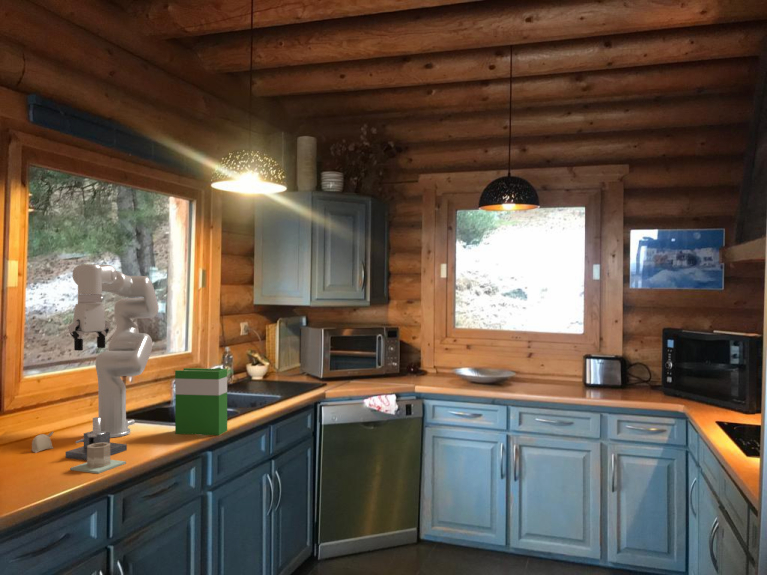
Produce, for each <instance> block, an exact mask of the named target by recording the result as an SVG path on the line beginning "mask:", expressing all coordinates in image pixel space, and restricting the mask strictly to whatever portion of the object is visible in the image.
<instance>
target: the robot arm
mask: <svg viewBox="0 0 767 575" xmlns="http://www.w3.org/2000/svg"><path fill="white" fill-rule="evenodd" d="M72 279H73V281H74V283H75V284H76V285H77V303H76V304H75V306H74V311H73V320H72V323H71V324H69V325H68V326H67V329H68V331H69V334H70V335H71V338H72V339H74V340H73V342H74V343H73V344H74V346H73V347H74V348H73V350H74V351H78V352H79V351H80V352H81V351H83V350H84V339H83V338H82V337H83V336H84V334H87V333H96V335H97V336H96V347H97V349H104V348H106V337H107V336H108V333H109V331H110V327H111V323H110V322H108V321H106V314H105V307H104V303H103V300H104V296H103V292H106V293H112V294H113V295H116V296H119V297H122V298H120V299H119V300H117V301H116V302H115V304H114V308H113V310H114V319H115V324H116V328H115V331H114V333H113V335H112V337H111V339H110V341H109V343H108V347H107V349H108V350H106V351H102V352H100V353H99V354H98V355H97V356H96V358H95V370H96V376H97V387H98V388H97V389H98V390H97V391H98V394H97V396H98V405H97V406H98V413H97V414H98V417H101V431H105V432H110V439H111V438H119V437H124V436H127V435H129V434H130V433H131V428H129V427H130V426H133V425H135V423H136V421H135V419H129V420H128V419H127V409H126V408H127V406H126V405H127V388H126V384H125V382H124V381H123V379H122V378H121V377H131V376H132V377H135V376H140V375H142V373H143V372H144V371H145V368H146V366H147V363H148V362H149V359H150V356H151V354H152V350H153V340H152V337H151V336H150V335H149V334H148V333H145V332H140V331H139V330H140V329H139V327H138V325H136V324H135V322H134V321H133V320H131V319H153V318H155V317H156V316H157V315H158V313H159V303H158V299H157V295H156V291H155V288H154V285H153V282H152V280H151V279H150V278H149V277H148V276H146V275H127V274H124V273H123V272H121V271H118V270H116V268H115V267H114V266H113V265H110V264H95V263H94V264H93V263H91V264H90V263H83V264H79V265H78V264H77V266H75V267H74V268H73V270H72ZM123 297H124V298H123Z"/></svg>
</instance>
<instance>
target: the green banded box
mask: <svg viewBox="0 0 767 575" xmlns="http://www.w3.org/2000/svg"><path fill="white" fill-rule="evenodd" d="M174 379H175V380H174V389H175V390H174V392H175V393H174V396H175V398H174V399H175V400H174V402H175V403H174V404H175V405H174V406H175V408H174V410H175V411H174V413H175V414H174V418H175V419H174V420H175V421H174V422H175V424H174V426H175V431H174V432H175V434H176V435H195V434H202V435H203V436H221V435H222V434H224V433H226V432H227V431H228V368H205V367H204V368H195V367H194V368H193V367H192V368H191V367H188V368H187V367H186V368H185V367H184V368H183V370H181V369H179V370H174Z"/></svg>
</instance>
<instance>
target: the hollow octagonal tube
mask: <svg viewBox="0 0 767 575" xmlns="http://www.w3.org/2000/svg"><path fill="white" fill-rule="evenodd" d="M110 443H111V442H110ZM110 443H105V442H102V443H94V444H90V445H87V460H86V462H87V467H91V468H97V467H104V466H107V465H110V460H111V456H110Z"/></svg>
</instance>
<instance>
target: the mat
mask: <svg viewBox="0 0 767 575" xmlns="http://www.w3.org/2000/svg"><path fill="white" fill-rule="evenodd" d="M126 464H127V461H123V460H116V459H110V465H107V466H104V467H97V468H91V467H87V461H86V462H84V463H81V464H78V465H75V466H71V467H69V470H70V471H77V472H84V473H92V474H101V473H104V472H107V471H110V470H112V469H115V468H117V467H121V466H122V465H126Z"/></svg>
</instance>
